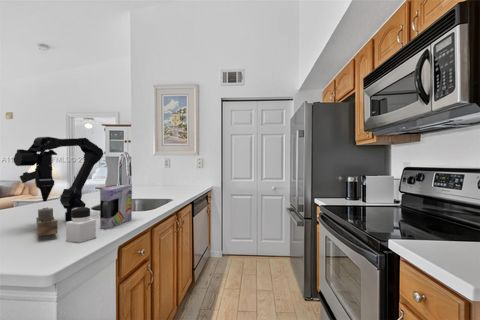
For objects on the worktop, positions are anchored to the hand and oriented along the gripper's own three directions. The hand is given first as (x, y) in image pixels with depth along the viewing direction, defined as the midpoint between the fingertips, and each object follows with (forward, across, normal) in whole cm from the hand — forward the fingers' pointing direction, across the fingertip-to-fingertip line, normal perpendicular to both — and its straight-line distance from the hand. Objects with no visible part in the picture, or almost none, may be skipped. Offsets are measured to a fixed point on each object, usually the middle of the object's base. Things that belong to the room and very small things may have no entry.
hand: (44, 200), depth 121 cm
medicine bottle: (+12, +30, +10) cm, 33 cm away
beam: (+12, +12, 0) cm, 17 cm away
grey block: (+8, +6, 0) cm, 10 cm away
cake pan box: (+12, +13, +27) cm, 32 cm away
